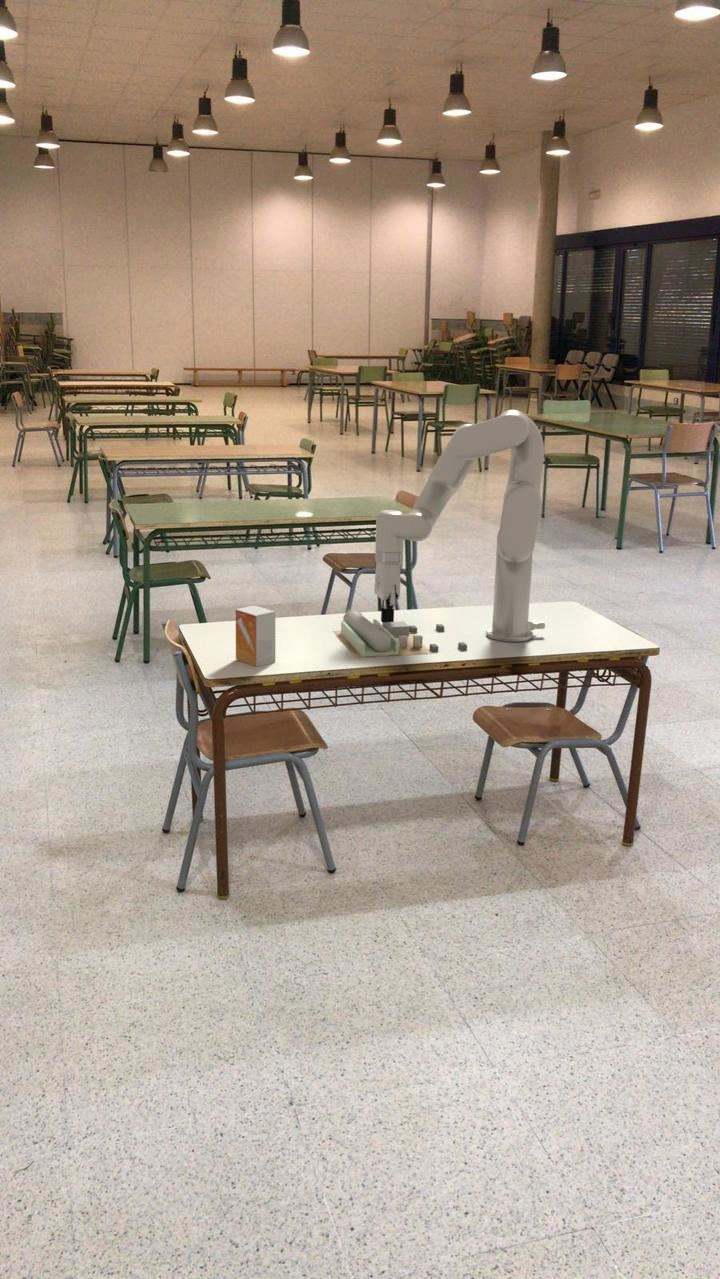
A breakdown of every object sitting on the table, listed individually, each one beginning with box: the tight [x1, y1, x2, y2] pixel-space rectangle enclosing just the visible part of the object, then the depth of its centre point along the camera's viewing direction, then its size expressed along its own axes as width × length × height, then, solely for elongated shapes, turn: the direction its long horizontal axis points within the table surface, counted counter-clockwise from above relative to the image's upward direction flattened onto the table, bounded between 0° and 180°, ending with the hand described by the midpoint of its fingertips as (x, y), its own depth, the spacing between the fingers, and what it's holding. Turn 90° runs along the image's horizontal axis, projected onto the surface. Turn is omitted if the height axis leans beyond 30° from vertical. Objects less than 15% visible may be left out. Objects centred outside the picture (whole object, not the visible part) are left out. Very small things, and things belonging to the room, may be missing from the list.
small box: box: [235, 605, 276, 668], centre depth 266 cm, size 8×6×13 cm
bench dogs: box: [398, 634, 424, 649], centre depth 277 cm, size 6×2×3 cm, turn 105°
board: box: [332, 630, 434, 659], centre depth 282 cm, size 20×25×1 cm
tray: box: [340, 619, 399, 657], centre depth 280 cm, size 10×22×3 cm, turn 14°
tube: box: [342, 609, 391, 652], centre depth 279 cm, size 5×5×25 cm
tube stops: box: [409, 623, 468, 653], centre depth 285 cm, size 9×20×2 cm, turn 14°
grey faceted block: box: [381, 621, 410, 636], centre depth 290 cm, size 6×5×2 cm
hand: (387, 622), depth 297 cm, fingers closed
